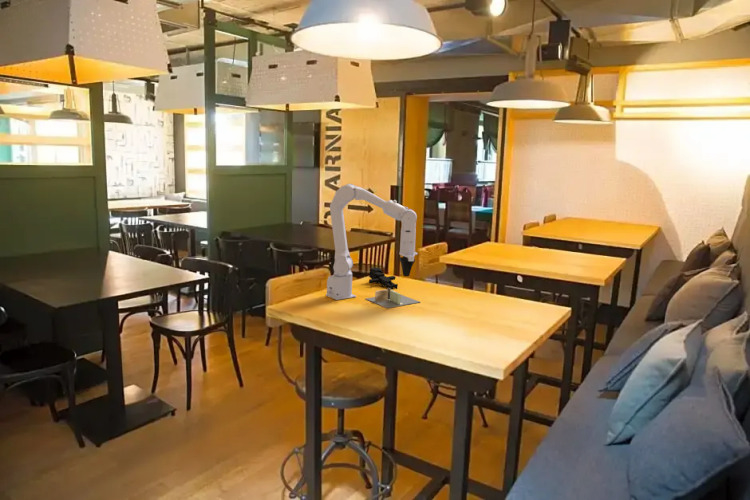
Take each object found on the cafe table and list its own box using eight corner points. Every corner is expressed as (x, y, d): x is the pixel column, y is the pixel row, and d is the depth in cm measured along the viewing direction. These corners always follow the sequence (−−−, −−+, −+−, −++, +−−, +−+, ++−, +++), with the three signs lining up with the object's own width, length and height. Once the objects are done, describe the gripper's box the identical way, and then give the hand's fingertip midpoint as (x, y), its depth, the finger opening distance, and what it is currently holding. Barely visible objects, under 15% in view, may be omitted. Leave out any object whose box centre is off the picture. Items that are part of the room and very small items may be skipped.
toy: (382, 284, 224) (361, 269, 234) (380, 296, 226) (359, 281, 236) (407, 280, 232) (386, 266, 243) (404, 292, 234) (383, 277, 245)
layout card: (387, 308, 200) (387, 307, 200) (365, 299, 211) (365, 298, 211) (420, 302, 210) (420, 301, 210) (397, 294, 221) (397, 293, 221)
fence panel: (388, 299, 211) (389, 289, 210) (391, 299, 211) (391, 289, 210) (398, 304, 205) (398, 294, 204) (400, 303, 205) (400, 294, 204)
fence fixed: (376, 302, 208) (377, 290, 207) (374, 301, 209) (375, 289, 208) (390, 299, 212) (391, 288, 211) (388, 299, 213) (389, 287, 212)
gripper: (422, 244, 201) (420, 280, 203) (413, 238, 215) (411, 271, 218) (404, 244, 200) (402, 280, 202) (396, 238, 214) (394, 271, 216)
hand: (406, 275), depth 210 cm, fingers closed
